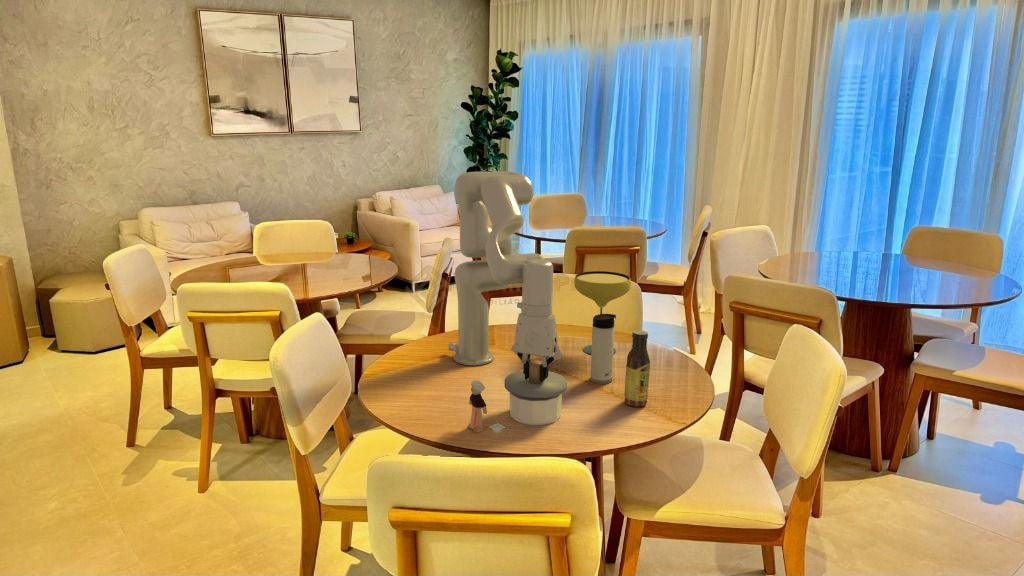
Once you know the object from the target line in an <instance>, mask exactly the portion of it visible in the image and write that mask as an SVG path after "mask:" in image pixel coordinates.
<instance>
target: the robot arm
mask: <svg viewBox="0 0 1024 576" xmlns="http://www.w3.org/2000/svg"><path fill="white" fill-rule="evenodd" d="M454 183H455V184H454V195H455V199H456V202H457V207H458V209H459V248H460V252H461V255H462V256H464V257H466V258H471V259H472V258H473V259H475V258H485V259H484V260H483V259H480V260H471V261H470V260H469V261H464V262H462V263H460V264H458V265H457V266H456V267H455V268H454V269H455V270H454V281H455V287H456V294H457V312H458V313H457V315H458V316H457V318H458V319H457V320H458V321H457V327H458V328H457V329H458V337H457V338H458V343H456V342H449V343H448V347H447V349H448V351H451V352H455V353H454V354H453V360H454V361H455V362H456V363H457V364H460V365H463V366H483V365H486V364H491V362H492V361H493V360H494V359H495V358H494V353H492V352H491V351H489V347H490V345H489V344H490V340H489V339H490V338H489V334H490V333H489V332H490V330H489V329H490V326H489V324H490V323H489V321H490V319H489V309H490V307H489V303H488V301H487V299H485V297H484V296H483V295H482V294H481V293H483V292H489V291H498V290H504V289H506V288H508V287H509V285H519V284H522V285H521V286H522V288H521V290H522V291H521V301H520V302H517V303H516V307H517V308H518V309H520V312H519V313H518V316H517V320H516V326H515V333H514V334H515V335H514V343H513V345H512V346H511V348H510V351H511V352H513V353H514V354H515V355H516V356H517V357H518V358H519V360H521V364H523V370H522V371H523V374H525V379H528V378H529V362H530V361H531V356H536V357H540V358H541V361H542V366H541V367H540V381H541V382H543V381H544V380H545V379H546V378H547V377H548V371H550V370H549V365H550V364H551V363H553V362H554V361H556V360H559V359H561V358H562V357H563V354H562V351H561V349H560V348H559V345H558V331H557V329H558V328H557V322H556V317H555V314H553V294H554V265H553V263H552V262H551V261H550V260H548V259H545V258H544V257H543V256H542V255H541V254H539V253H535V252H534V253H533V252H531V253H518V254H517V253H516V254H513V252H512V251H513V244H512V240H513V239H512V236H513V235H514V234H515V233H518V231H519V230H520V229H522V227H523V226H524V221H525V220H524V215H523V214H522V210H521V208H520V206H526V205H528V204H530V203H531V202H532V200H533V199H534V187H533V183H532V181H531V179H529V177H528V176H527V175H525V174H522V173H517V172H515V171H511V170H510V171H508V170H507V171H506V170H504V171H503V170H502V171H501V170H500V171H496V170H495V171H468V172H463V173H461V174H459V175H458V176H457V178H456V180H455V182H454ZM489 221H490V223H491V225H489Z"/></svg>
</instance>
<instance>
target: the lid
mask: <svg viewBox="0 0 1024 576" xmlns="http://www.w3.org/2000/svg"><path fill="white" fill-rule="evenodd" d="M541 366H542V360H538V359H537V360H530V362H529V378H528V379H525V374H523V370H518V371H516V372H513V373H510V374H509V375H507V376H506V377H505V378H504V382H503V383H504V384H503V385H504V389H505V390H506V391H507V392H508V393H509V394H510V393H512V394H514V395H517V396H521V397H526V398H549V397H554V396H557V395H560V394H562V395H563V393H565V392H566V390H567V389H568V380H567V378H565V377H564V376H563V375H561V374H559V373H558V372H557V373H556V372H553V371H550V370H549V371H548V377H547V378H546V379H545V380H544V381H543V382H541V381H540V367H541Z"/></svg>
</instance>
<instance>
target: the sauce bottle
mask: <svg viewBox="0 0 1024 576" xmlns="http://www.w3.org/2000/svg"><path fill="white" fill-rule="evenodd" d="M648 338H649V334H648V332H647V331H645V330H634V331H632V345H631V349H630V350H629V352H628V353H627V356H626V365H625V379H624V403H625V404H626V405H627V406H631V407H634V408H635V407H644V406H646V405H647V403H648V400H649V399H648V398H649V385H650V384H649V383H650V372H651V371H650V370H651V360H650V356H649V353H648V352H649V351H648V349H647V348H648V347H647V343H648Z"/></svg>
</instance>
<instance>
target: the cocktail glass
mask: <svg viewBox="0 0 1024 576" xmlns="http://www.w3.org/2000/svg"><path fill="white" fill-rule="evenodd" d="M573 283H574V288H575V290H576V291H577V292H578V293H579V294H581V295H583V296H584V297H586V298H588V299H589V300H592V301H593V302H594V303H595V304H596V306H597V307H599V308H600V309H599V310H600V312H599V314H603V309H604V308H605V307H606V306H607V304H608V303H610V302H611V301H613V300H616V299H618V298H621V297H623V296H625V295H626V294H628V293H629V291H630V290H631V287H632V286H631V284H632V280H631V277H630V276H629V275H626V274H625V273H620V272H616V271H615V272H614V271H606V270H605V271H604V270H603V271H602V270H596V271H595V270H594V271H593V270H592V271H590V270H589V271H585V272H579V273H577V274H575V277H574V282H573ZM582 348H583V349H582V350H583V352H584V353H585V354H588V355H590V356H591V351H592V344H588V345H586V346H584V347H582ZM616 352H617V350H616V348H615V347H613V355H614V354H616Z"/></svg>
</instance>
